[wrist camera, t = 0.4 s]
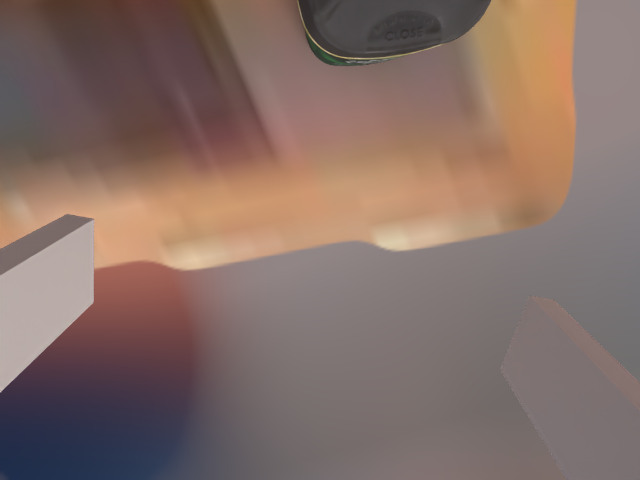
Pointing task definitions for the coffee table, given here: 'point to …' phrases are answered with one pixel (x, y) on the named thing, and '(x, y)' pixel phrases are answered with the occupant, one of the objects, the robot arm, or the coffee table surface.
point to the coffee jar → (383, 27)
